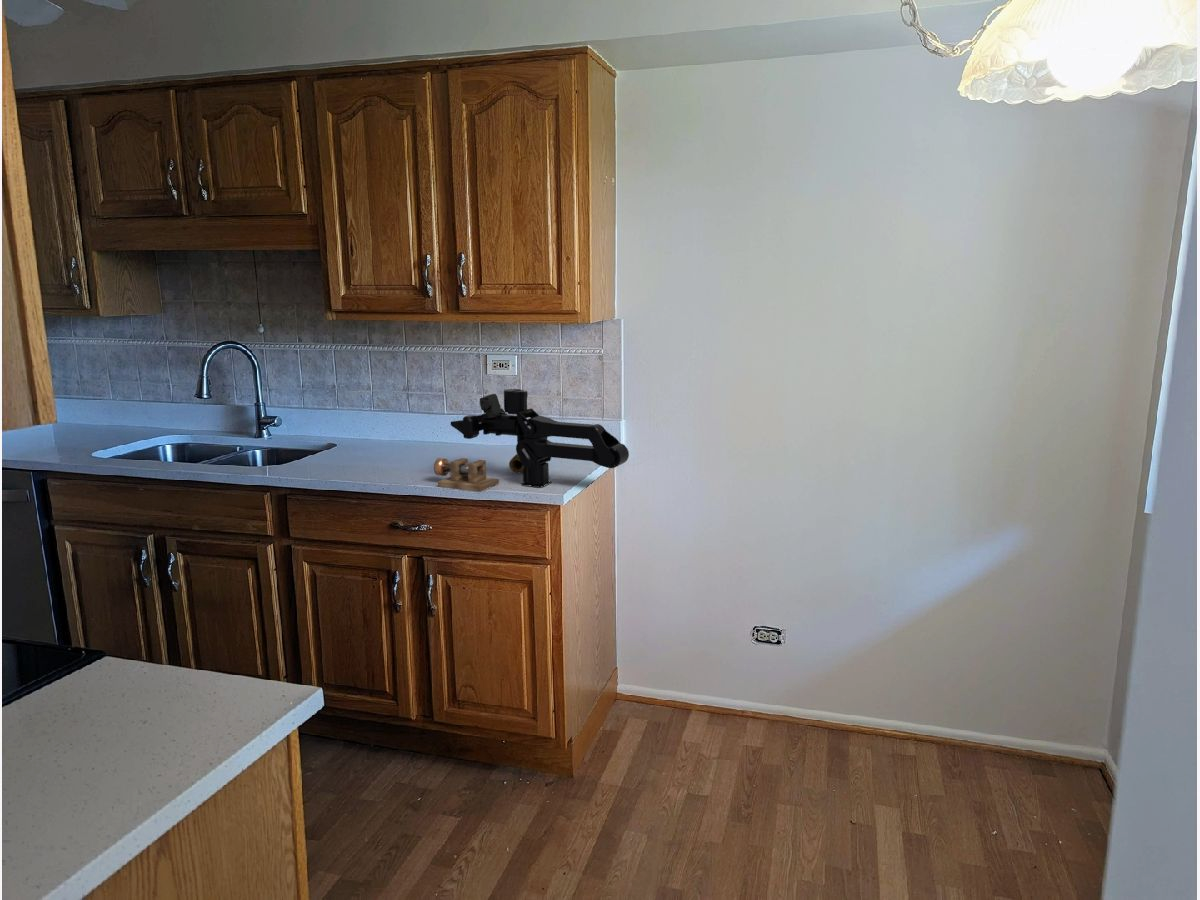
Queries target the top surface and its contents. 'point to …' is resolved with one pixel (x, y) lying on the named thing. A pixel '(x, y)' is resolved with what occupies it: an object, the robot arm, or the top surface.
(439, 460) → the shaft
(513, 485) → the top surface
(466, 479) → the bearing stand
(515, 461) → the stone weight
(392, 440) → the top surface
